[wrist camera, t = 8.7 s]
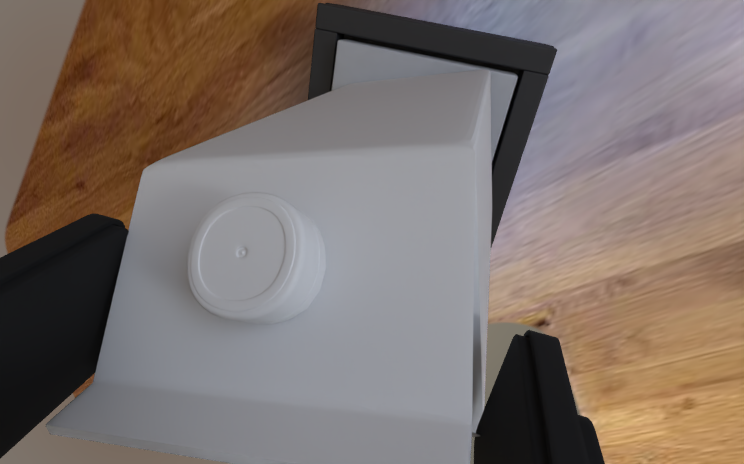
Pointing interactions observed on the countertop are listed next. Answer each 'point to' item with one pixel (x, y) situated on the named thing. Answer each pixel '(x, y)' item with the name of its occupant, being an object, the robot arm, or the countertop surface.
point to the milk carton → (308, 286)
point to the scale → (453, 45)
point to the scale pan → (416, 73)
